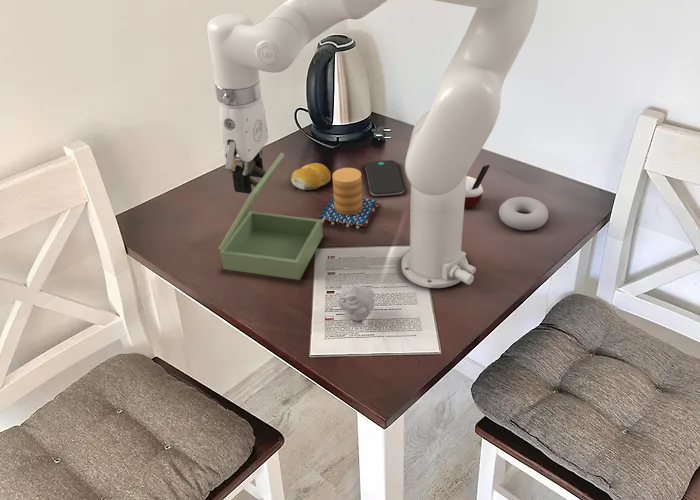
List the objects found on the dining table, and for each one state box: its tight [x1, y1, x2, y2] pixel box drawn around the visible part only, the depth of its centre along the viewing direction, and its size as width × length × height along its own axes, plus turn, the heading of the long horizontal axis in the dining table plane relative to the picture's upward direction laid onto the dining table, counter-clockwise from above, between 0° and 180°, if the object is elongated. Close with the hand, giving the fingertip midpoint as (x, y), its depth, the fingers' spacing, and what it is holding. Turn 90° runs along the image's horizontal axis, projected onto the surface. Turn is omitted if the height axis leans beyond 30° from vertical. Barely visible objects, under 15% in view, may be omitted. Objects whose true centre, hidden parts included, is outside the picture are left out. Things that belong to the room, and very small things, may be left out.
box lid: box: [218, 152, 286, 252], centre depth 125 cm, size 16×15×5 cm
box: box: [219, 210, 324, 281], centre depth 130 cm, size 16×15×5 cm
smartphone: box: [364, 159, 405, 197], centre depth 153 cm, size 8×1×15 cm
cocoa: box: [464, 164, 491, 209], centre depth 139 cm, size 10×6×12 cm, turn 6°
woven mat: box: [318, 195, 380, 229], centre depth 141 cm, size 10×11×2 cm
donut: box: [498, 196, 549, 231], centre depth 137 cm, size 10×4×10 cm
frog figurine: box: [335, 284, 376, 322], centre depth 113 cm, size 6×7×7 cm
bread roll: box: [290, 162, 332, 191], centre depth 153 cm, size 8×9×4 cm
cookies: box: [331, 167, 363, 215], centre depth 138 cm, size 6×6×8 cm
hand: (249, 183), depth 122 cm, fingers closed on box lid, 5 cm apart
